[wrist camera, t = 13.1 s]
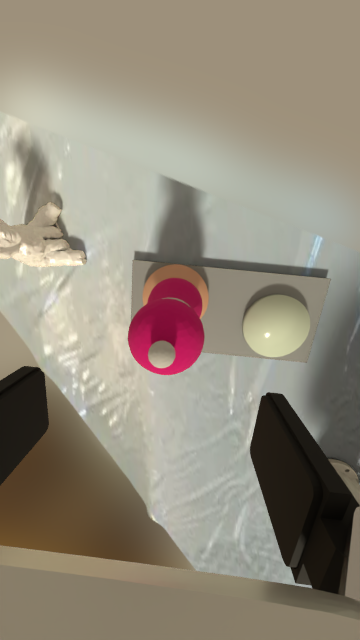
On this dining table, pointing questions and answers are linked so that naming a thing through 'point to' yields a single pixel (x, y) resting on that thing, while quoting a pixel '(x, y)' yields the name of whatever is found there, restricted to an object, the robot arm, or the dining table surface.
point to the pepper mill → (168, 328)
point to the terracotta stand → (177, 272)
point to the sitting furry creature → (39, 241)
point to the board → (240, 304)
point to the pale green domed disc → (275, 325)
